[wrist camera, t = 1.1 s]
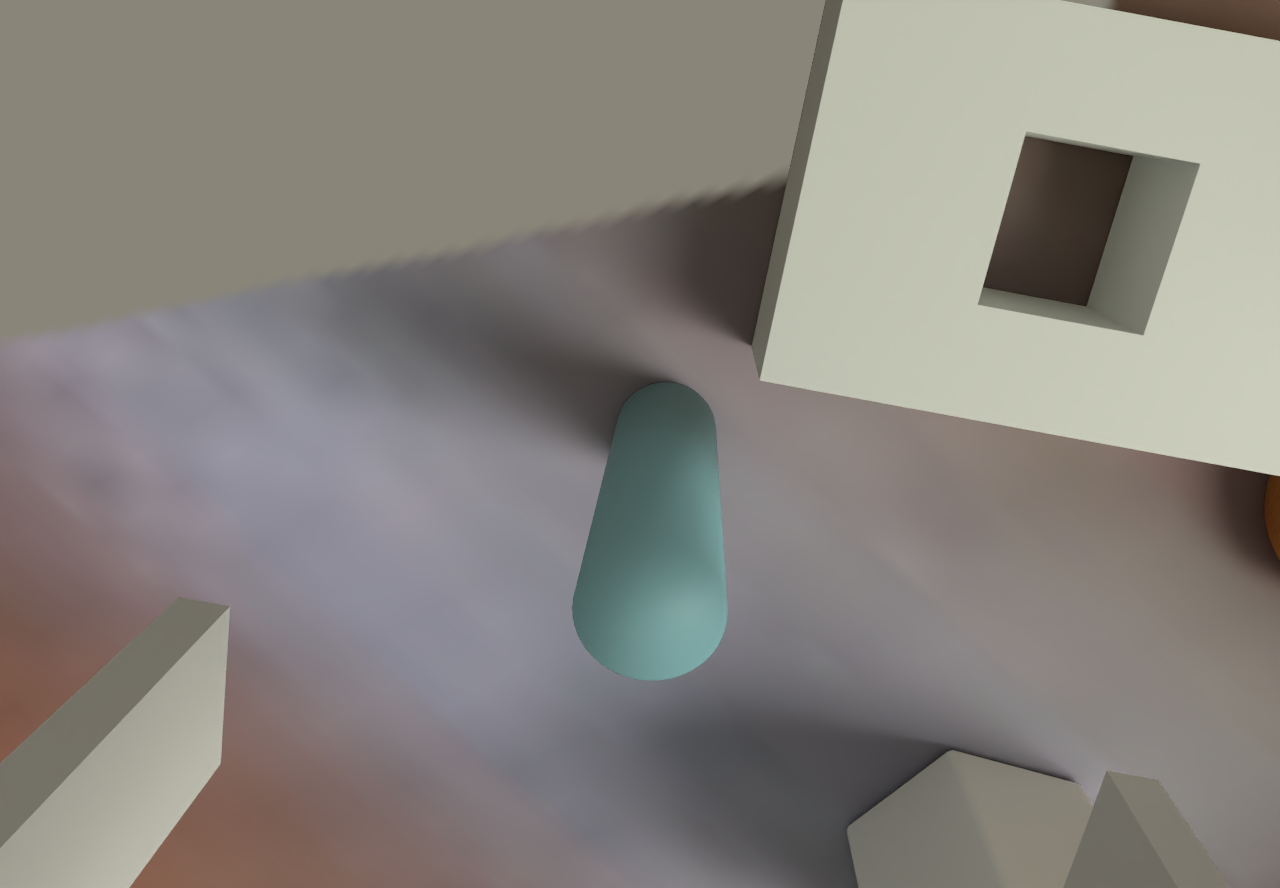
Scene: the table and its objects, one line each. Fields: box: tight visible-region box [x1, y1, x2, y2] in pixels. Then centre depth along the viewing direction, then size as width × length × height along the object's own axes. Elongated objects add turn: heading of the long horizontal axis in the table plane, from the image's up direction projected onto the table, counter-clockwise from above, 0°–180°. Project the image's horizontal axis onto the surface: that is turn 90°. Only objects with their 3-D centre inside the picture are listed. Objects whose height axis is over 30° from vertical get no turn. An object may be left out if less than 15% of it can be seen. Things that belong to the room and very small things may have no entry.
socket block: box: [752, 0, 1280, 476], centre depth 27 cm, size 14×10×4 cm
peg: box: [572, 382, 727, 681], centre depth 26 cm, size 3×3×12 cm
